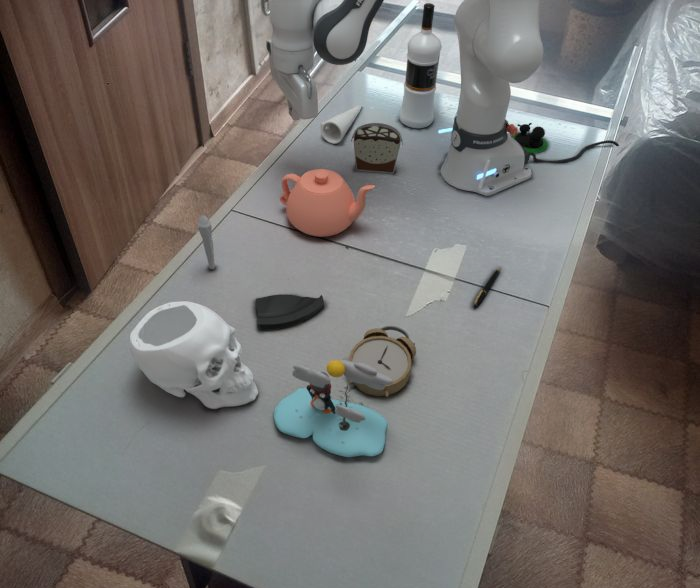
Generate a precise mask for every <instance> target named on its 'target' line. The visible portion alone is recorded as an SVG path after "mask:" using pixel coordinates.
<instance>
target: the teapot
mask: <svg viewBox="0 0 700 588" xmlns="http://www.w3.org/2000/svg"><path fill="white" fill-rule="evenodd" d="M288 181H292V182H294V183H295V184H294V185H293V187H292V189H291V190H290V187H289V184H288ZM281 188H282V191H283V193H281V194H280V196H279V202H280V203H281V204H283V205H284V206H286V209H285V210H286V212H285V213H286V217H287V219H288V220H289V223H290V224H291V225H292V226H293V227H294V228H296V229H297V230H299V231H300V232H301V233H303V234H306V235H308V236H311V237H318V238H323V237H324V238H325V237H331V236H335V235H338V234H339V233H341V232H343V231H345V230H346V229H348V227H350V226H351V225H352V224H353V222H354V220H357V219H358V218H359V217H360V216H362V214H363V212H364V209H365V205H366V200H367V199H366V197H367V194H368V192H369V191H371V190H373V189H375V188H376V185H375V184H366V185H364V186H362V187H361V188H360V189H359V190H358V193H357V200H356V199H355V195H354V193H353V191H352V189H351V188H350V186H349V185H348V183H347V182H346V180H345V179H344V177H342V176H341V175H340V174H339V173H338V172H336V171H334V170H330V169H327V168H316V169H311V170H308V171H306V172H305V173H304V174H302V175H301V176H299V175H298V174H295V173H288V174H286V175H284V176H283V178H282V179H281Z"/></svg>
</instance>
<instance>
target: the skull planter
mask: <svg viewBox="0 0 700 588" xmlns="http://www.w3.org/2000/svg"><path fill="white" fill-rule="evenodd" d="M235 334H236V329H235V328H234V327H233V326H231V325H229V324H228V323H227V322H226V321H225V320H224V319H223V317H221V316H220V315H219V314H217V313H216V312H215V311H214V310H212V309H210V308H209V307H207V306H205V305H202V304H200V303H197V302H192V301H187V300H186V301H185V300H184V301H182V300H181V301H171V302H167V303H164V304H162V305H159V306H157V307H155V308H153V309H151V310H150V311H148V312H147V313H146V314H145V315H144V317H143V318H141V320H139V322H138V323H137V324H136V326H135V327H134V328H133V329H132V331H131V332H130V335H129V351H130V355H131V357H132V358H133V360H134V362H135V364H136V365H137V366H138V368H139V369H140V370H141V371H142V372H143V374H144V375H145V376H146V378H147V379H148V380H149V382H151V383H153V384H154V385H156V386H157V387H159V388H160V389H162V390H163V391H165V392H166V393H168V394H171V395H173V396H175V397H176V398H185V396H186V395H187V394H186V393H190V394H191V395H193V396H194V397H196V398H197V399H199V401H200V402H201V403H202V404H203V405H204V406H205V407H206V408H207V409H211V410H217V409H220V408H224V407H225V408H227V407H238V406H242V405H246V404H248V403H250V402H253V401H255V400H256V398H257V396H258V395H259V390H258V387H257V385H256V382H255V381H254V379H255V376H254V374H253V371H252V370H251V369H250V367H248V366H247V365H245V364H244V363H243V362H242V356H243V354H244V353H243V352H244V351H243V347H242V345H241V343H240V342H239V341H238V340H237V338H236V335H235ZM215 367H216V369H215V370H214V369H213V368H215ZM200 382H201V384H199V383H200ZM198 384H199V385H198ZM196 385H197V386H196ZM218 389H219V391H216V390H218ZM185 391H186V392H185ZM214 391H216V392H214Z"/></svg>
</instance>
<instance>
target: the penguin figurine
mask: <svg viewBox="0 0 700 588" xmlns="http://www.w3.org/2000/svg"><path fill="white" fill-rule="evenodd" d="M292 368H293V370H292V377H294V378H295V379H297V380H299V381H302V382H304V383H305V382H306V383H308V385H306V387H298V388H297V389H296V390H294V392H292V393H291V394H289V395H287V396H285V397H284V398H282V399H281V400H280V401H279V402H278V404H277V405H276V406H275V408H274V410H273V422H274V424H275V426H276V428H277V429H278V430H279V432H281V433H283V434H285V435H288V436H291V437H295V438H300V439H307V438H309V437H310V436H312V440H313V443H314V444H316V445H317V446H318V447H319V448H321V449H323V450H325V451H327V452H328V453H330V454H332V455H336V456H340V457H344V458H352V457H359V456H365V457H375V456H377V455H380V454H381V453H382V452H383V450H384V448H385V444H386V431H387V428H388V424H389V423H388V421H387V419H386V418H385V417H383V415H381V414H380V413H379V412H377V411H375V410H373V409H371V408H369V407H367V406H365V405H364V404H365V403H363V402H359V403H358V404H357V403H351V402H352V401H354V400H353V399H352V396H350V395H351V394H348V395H347V392H348V391H349V388H348V387H349V382H347V381H352V382H355V383H360V384H365V385H367V386H368V387H371V388H374V389H378V390H383V389H384V387H385V385H390V384H392V382H393V381H392V379H391V378H389V377H387V376H385V375H383V374H381V373H377V370H376V369H374V368H373V367H371V366H369V365H367V364H364V363H354V362H351V361H349V360H346V359H340V358H338V359H332V360H330V361H329V362H328V363H327V365H326V372H327V373H326V372H324V371H319V370H317V369H313V368H311V367H307V366H305V365H301V364H294V365H293V366H292ZM343 375H344V376H345V378H346V385H347V386H344V385H343V386H342V387H343V388H344V390H345V391H343V390H339V392H340V393H341V394H343V395H344V397H345V401H342V400H344V397H343V396H342V395H339V396H338V398H339V399H341V400H338V399H337V398H336V399H333V398H332V396H331V393H332V384H331V378H330V376H331V377H333V378H340V377H342V376H343Z"/></svg>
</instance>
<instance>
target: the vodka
mask: <svg viewBox="0 0 700 588" xmlns="http://www.w3.org/2000/svg"><path fill="white" fill-rule="evenodd" d="M435 7H436V6H435V4H434V3H431V2H427V3H424V4H423V9H422V19H421V28H420V31H419V32H418V33H416V34H414V35H412V36H411V37H410V38H409V40H408V43H407V52H406V59H407V60H406V70H405V81H404V83H403V96H402V102H401V106H400V109H399V115H398V117H399V120H400V122H401V123H402V124H403V125H404V126H406V127H408V128H412V129H424V128H428V126H431V124H432V123H433V122H434V119H435V118H434V117H435V111H434V110H435V109H434V105H435V95H436V90H437V79H438V70H439V63H440V57H441V51H442V47H443V45H442V41H441V39H440V38H439V37H438V36H437V35H436V34H434V33H433V23H434V14H435Z"/></svg>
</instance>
